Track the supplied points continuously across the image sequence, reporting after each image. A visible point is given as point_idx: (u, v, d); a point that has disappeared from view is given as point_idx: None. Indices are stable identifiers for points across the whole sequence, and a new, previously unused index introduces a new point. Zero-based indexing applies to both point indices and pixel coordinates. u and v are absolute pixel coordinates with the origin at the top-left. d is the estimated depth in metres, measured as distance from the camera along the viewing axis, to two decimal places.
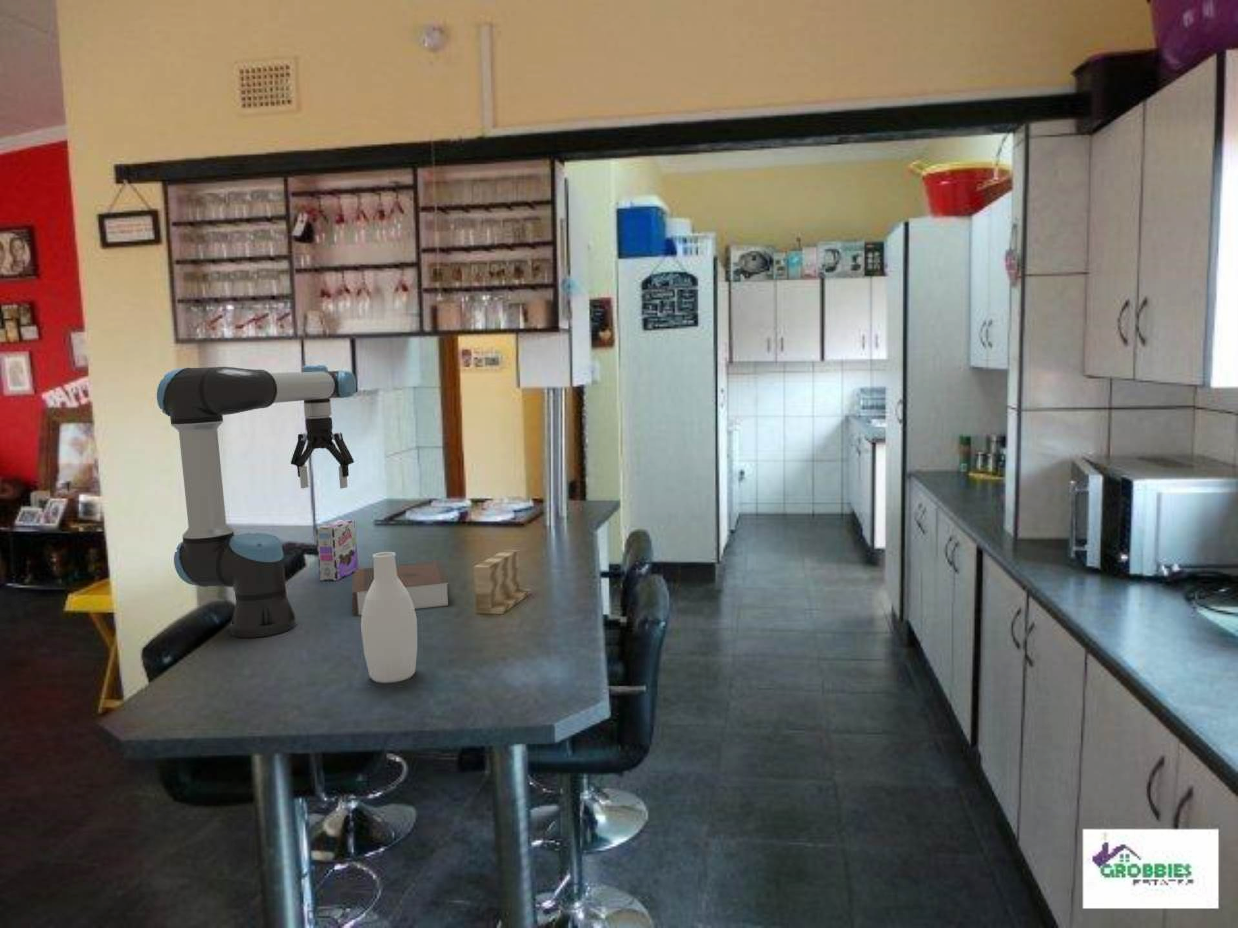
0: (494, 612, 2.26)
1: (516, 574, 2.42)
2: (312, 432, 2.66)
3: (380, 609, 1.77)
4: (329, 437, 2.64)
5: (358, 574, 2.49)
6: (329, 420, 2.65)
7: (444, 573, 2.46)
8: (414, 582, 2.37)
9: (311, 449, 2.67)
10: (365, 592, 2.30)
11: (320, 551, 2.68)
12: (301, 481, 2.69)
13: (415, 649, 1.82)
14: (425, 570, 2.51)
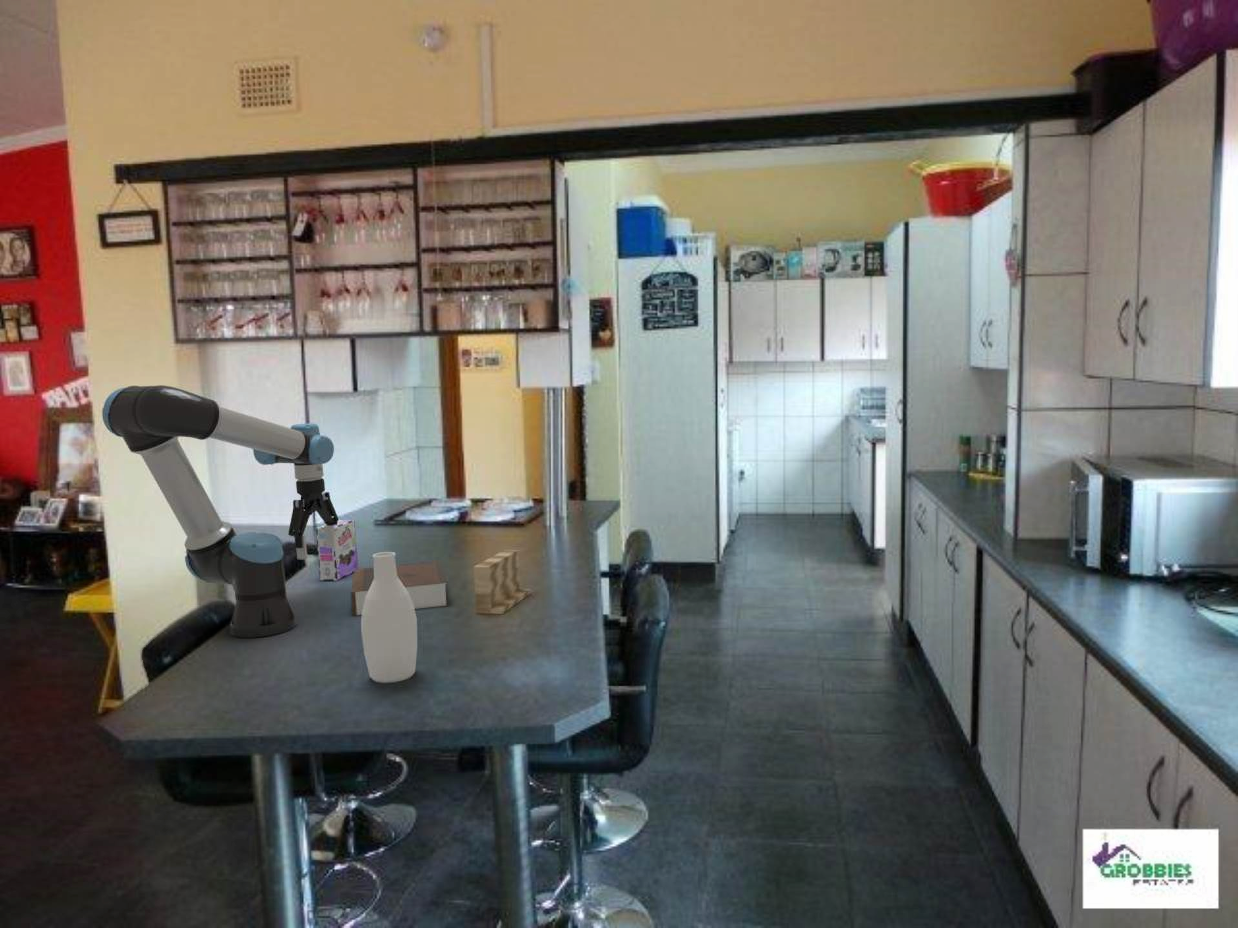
0: (494, 612, 2.26)
1: (516, 574, 2.42)
2: None
3: (380, 609, 1.77)
4: None
5: (357, 574, 2.49)
6: (301, 484, 2.46)
7: (443, 573, 2.46)
8: (413, 582, 2.37)
9: (319, 510, 2.54)
10: (363, 592, 2.30)
11: (320, 551, 2.68)
12: None
13: (415, 649, 1.82)
14: (424, 570, 2.51)
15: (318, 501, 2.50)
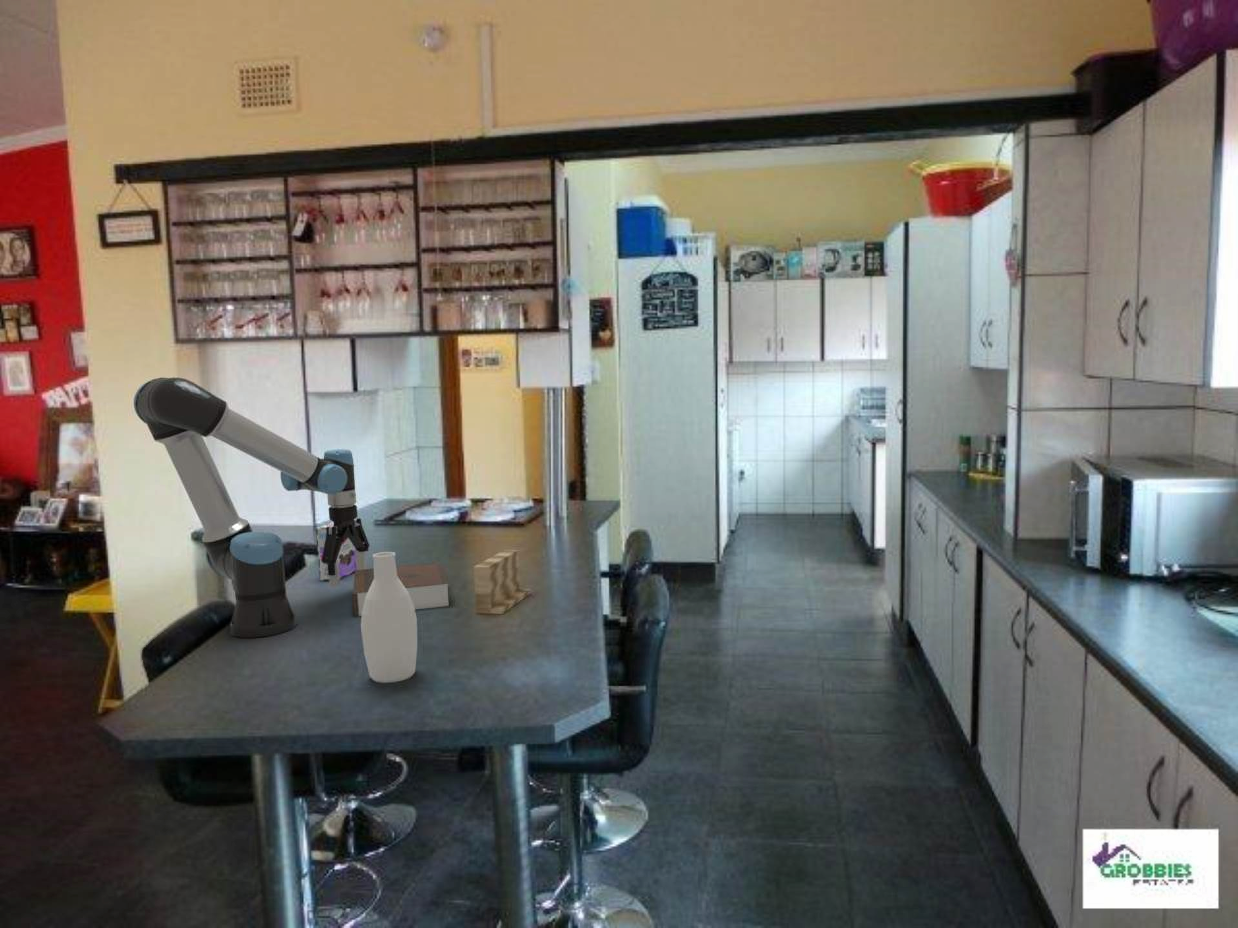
0: (494, 612, 2.26)
1: (516, 574, 2.42)
2: None
3: (380, 609, 1.77)
4: None
5: (359, 575, 2.48)
6: (334, 511, 2.44)
7: (445, 574, 2.45)
8: (415, 583, 2.36)
9: (350, 536, 2.52)
10: (365, 593, 2.29)
11: (320, 551, 2.68)
12: None
13: (415, 649, 1.82)
14: (426, 571, 2.50)
15: (350, 528, 2.49)
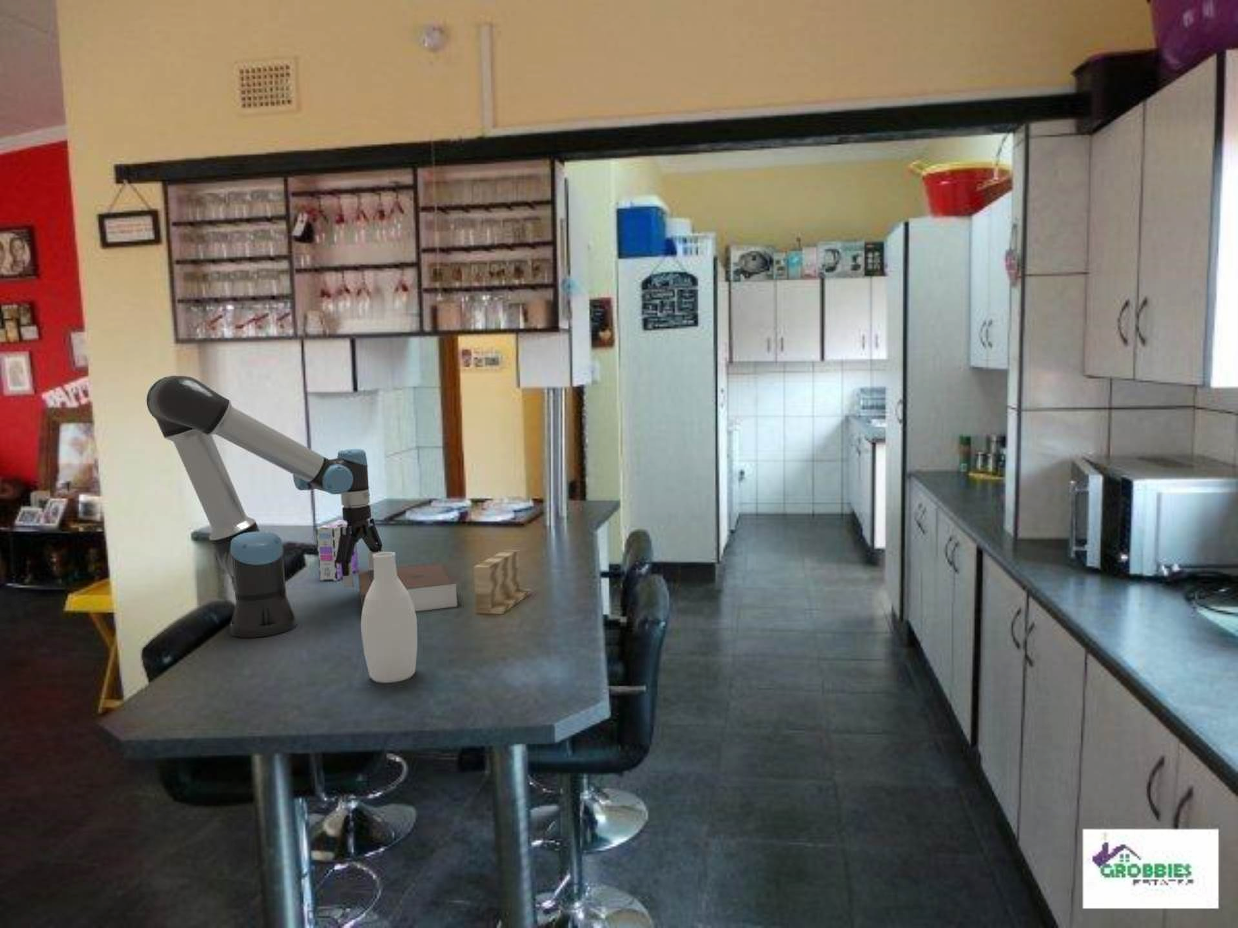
0: (494, 612, 2.26)
1: (516, 574, 2.42)
2: None
3: (380, 609, 1.77)
4: None
5: (363, 576, 2.46)
6: (348, 511, 2.43)
7: (451, 574, 2.44)
8: (422, 583, 2.35)
9: None
10: None
11: (320, 551, 2.68)
12: None
13: (415, 649, 1.82)
14: (431, 571, 2.49)
15: (364, 528, 2.47)
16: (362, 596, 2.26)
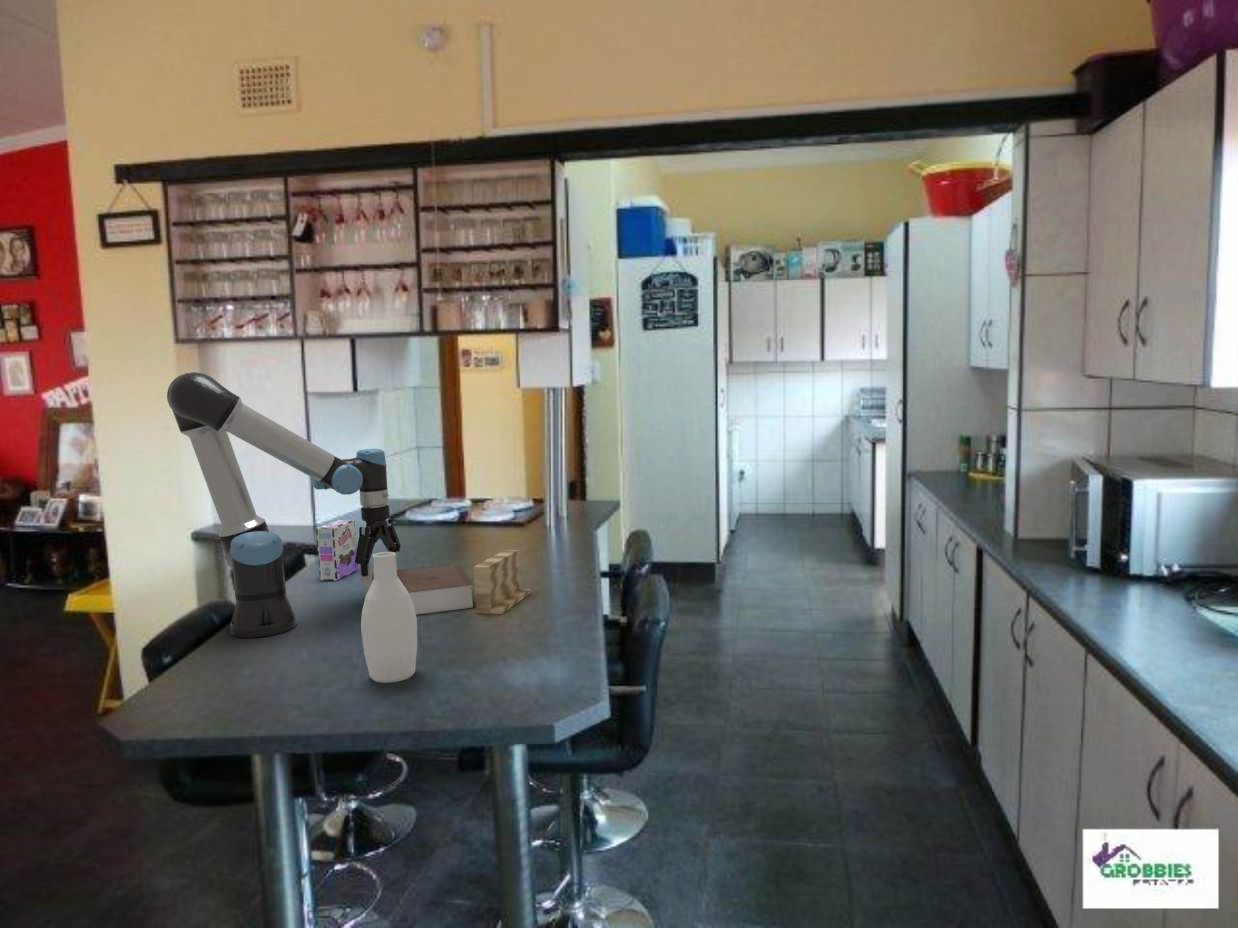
0: (494, 612, 2.26)
1: (516, 574, 2.42)
2: None
3: (380, 609, 1.77)
4: None
5: None
6: (367, 511, 2.41)
7: (465, 575, 2.43)
8: (437, 585, 2.33)
9: None
10: None
11: (320, 551, 2.68)
12: None
13: (415, 649, 1.82)
14: (445, 573, 2.47)
15: (383, 528, 2.46)
16: None
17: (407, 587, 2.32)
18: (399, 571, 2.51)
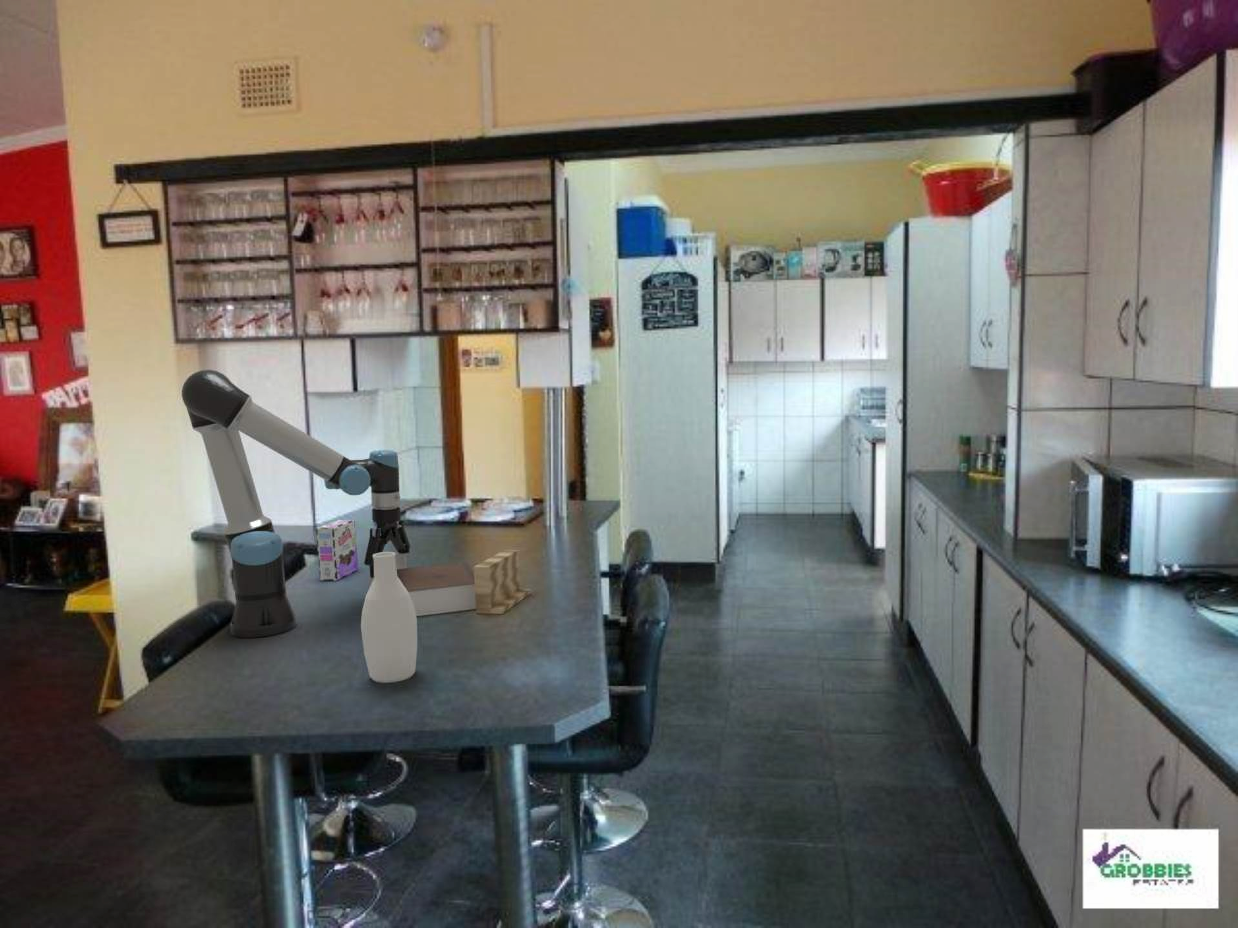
0: (494, 612, 2.26)
1: (516, 574, 2.42)
2: None
3: (380, 609, 1.77)
4: None
5: None
6: (378, 513, 2.41)
7: None
8: (446, 583, 2.33)
9: (392, 538, 2.48)
10: None
11: (320, 551, 2.68)
12: None
13: (415, 649, 1.82)
14: (453, 571, 2.46)
15: (393, 530, 2.45)
16: None
17: (415, 585, 2.32)
18: (407, 569, 2.50)
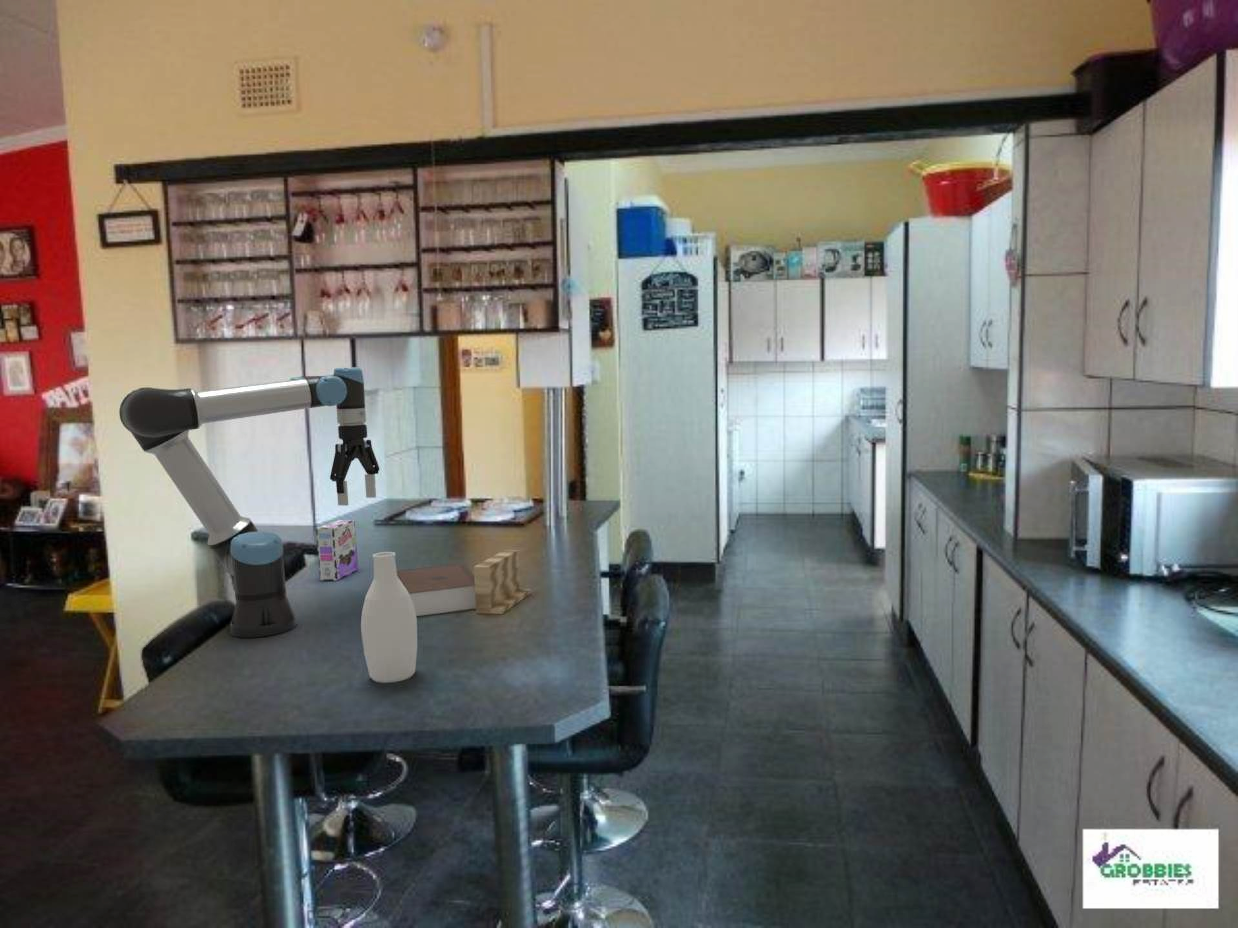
0: (494, 612, 2.26)
1: (516, 574, 2.42)
2: None
3: (380, 609, 1.77)
4: None
5: None
6: (344, 429, 2.40)
7: (472, 575, 2.42)
8: (445, 585, 2.33)
9: (360, 457, 2.48)
10: None
11: (320, 551, 2.68)
12: None
13: (415, 649, 1.82)
14: (451, 573, 2.46)
15: (360, 447, 2.44)
16: None
17: (415, 587, 2.31)
18: (405, 571, 2.50)
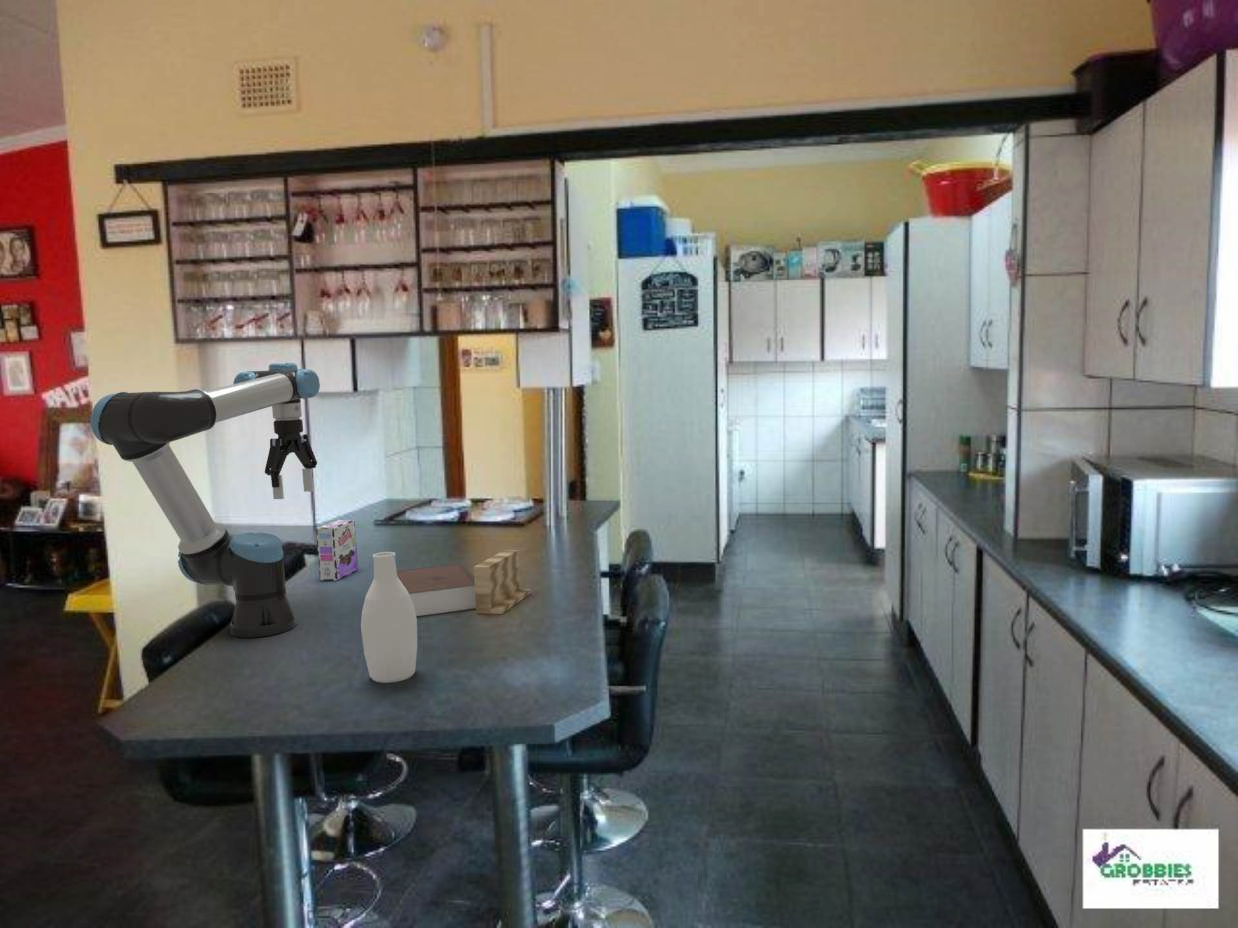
0: (494, 612, 2.26)
1: (516, 574, 2.42)
2: None
3: (380, 609, 1.77)
4: None
5: None
6: (279, 423, 2.43)
7: (472, 575, 2.42)
8: (445, 585, 2.33)
9: (297, 452, 2.51)
10: None
11: (320, 551, 2.68)
12: None
13: (415, 649, 1.82)
14: (450, 573, 2.46)
15: (296, 442, 2.48)
16: None
17: (414, 587, 2.31)
18: (403, 572, 2.50)
